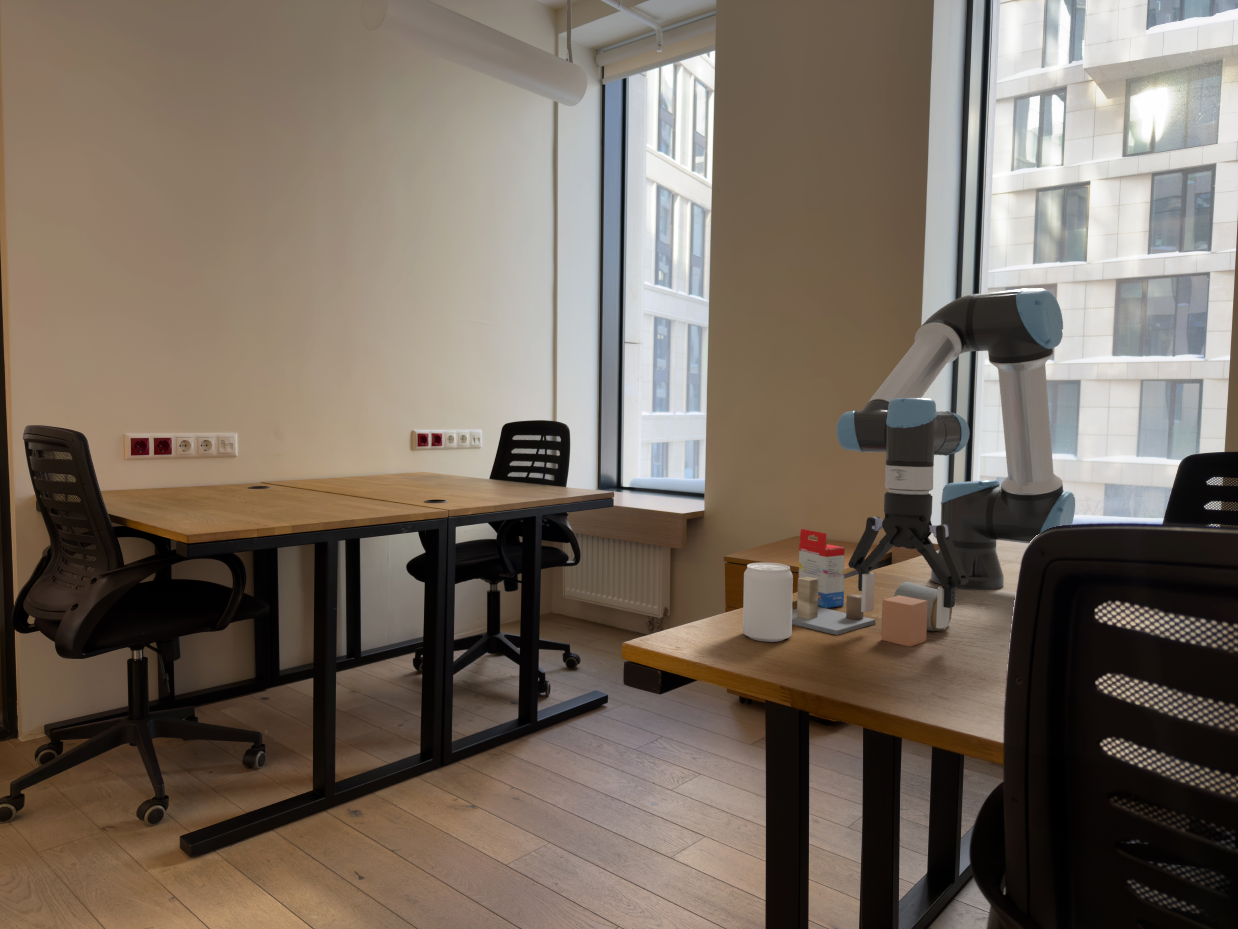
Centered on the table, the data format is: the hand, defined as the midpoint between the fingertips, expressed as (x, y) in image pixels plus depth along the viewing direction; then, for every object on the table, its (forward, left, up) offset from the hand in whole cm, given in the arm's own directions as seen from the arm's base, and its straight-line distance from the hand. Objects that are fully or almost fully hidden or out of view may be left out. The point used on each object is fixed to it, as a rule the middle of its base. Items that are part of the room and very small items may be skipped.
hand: (903, 619), depth 136 cm
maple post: (+2, -18, -4) cm, 18 cm away
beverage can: (+16, -16, -4) cm, 23 cm away
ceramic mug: (-12, -3, -4) cm, 13 cm away
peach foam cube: (0, 0, -4) cm, 4 cm away
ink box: (-12, -25, -4) cm, 28 cm away
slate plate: (0, -16, -4) cm, 16 cm away
